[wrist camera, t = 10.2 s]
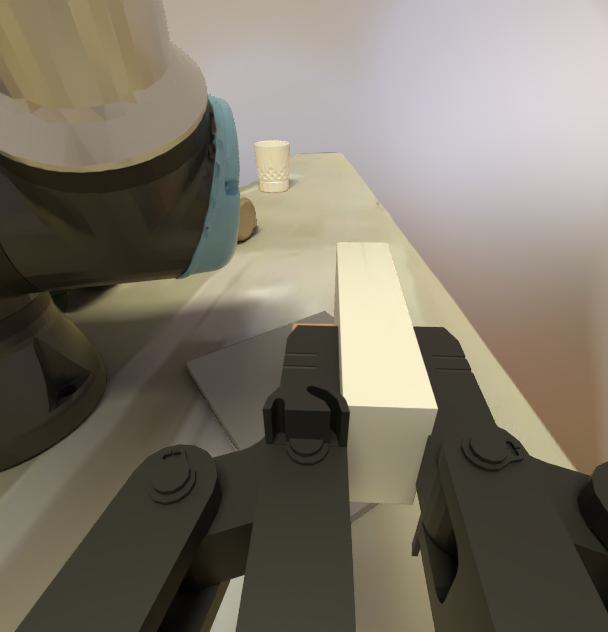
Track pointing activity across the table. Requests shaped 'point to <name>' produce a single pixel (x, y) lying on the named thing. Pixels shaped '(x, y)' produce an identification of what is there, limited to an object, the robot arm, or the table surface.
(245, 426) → the mat
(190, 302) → the table surface
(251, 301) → the table surface
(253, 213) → the ceramic mug
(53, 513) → the table surface
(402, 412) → the robot arm
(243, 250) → the table surface
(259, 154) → the white cup
